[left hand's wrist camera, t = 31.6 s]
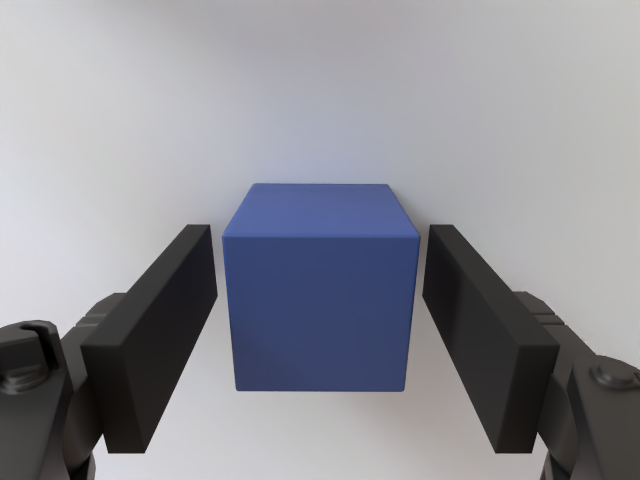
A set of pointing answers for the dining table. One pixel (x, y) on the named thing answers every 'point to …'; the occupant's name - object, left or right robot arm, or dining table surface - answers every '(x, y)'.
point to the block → (320, 288)
